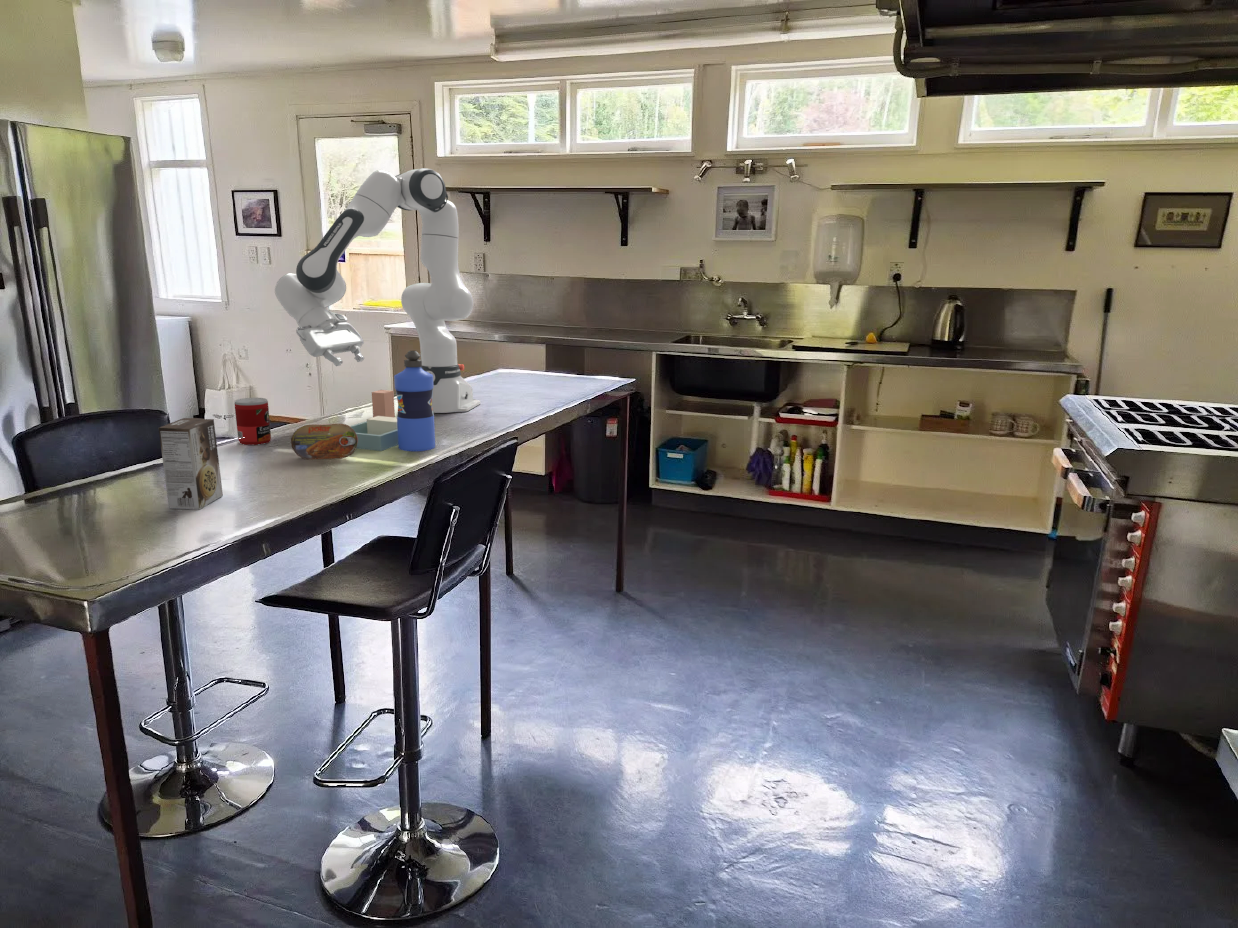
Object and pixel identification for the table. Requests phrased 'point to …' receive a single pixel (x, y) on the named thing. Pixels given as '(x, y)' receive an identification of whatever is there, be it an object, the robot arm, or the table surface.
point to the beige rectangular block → (381, 425)
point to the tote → (374, 438)
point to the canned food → (252, 421)
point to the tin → (324, 441)
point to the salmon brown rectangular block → (383, 403)
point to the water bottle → (414, 406)
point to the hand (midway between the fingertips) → (350, 362)
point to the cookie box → (190, 463)
